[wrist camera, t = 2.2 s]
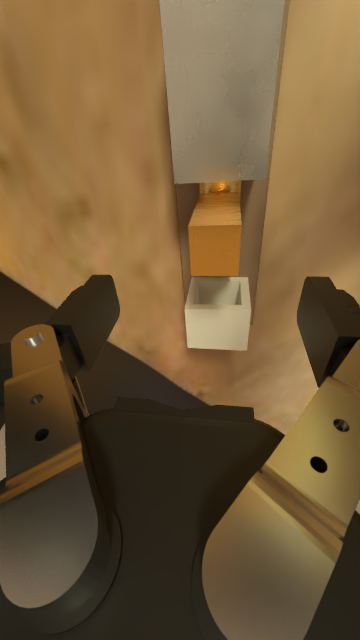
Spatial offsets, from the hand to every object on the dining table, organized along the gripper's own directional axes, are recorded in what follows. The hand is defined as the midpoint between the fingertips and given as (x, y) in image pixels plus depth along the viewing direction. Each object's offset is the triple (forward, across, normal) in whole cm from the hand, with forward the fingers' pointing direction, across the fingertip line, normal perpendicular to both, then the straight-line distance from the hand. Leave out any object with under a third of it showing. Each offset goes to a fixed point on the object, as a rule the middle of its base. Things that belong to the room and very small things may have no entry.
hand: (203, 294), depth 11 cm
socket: (+16, 0, +10) cm, 19 cm away
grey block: (+16, 0, -8) cm, 18 cm away
